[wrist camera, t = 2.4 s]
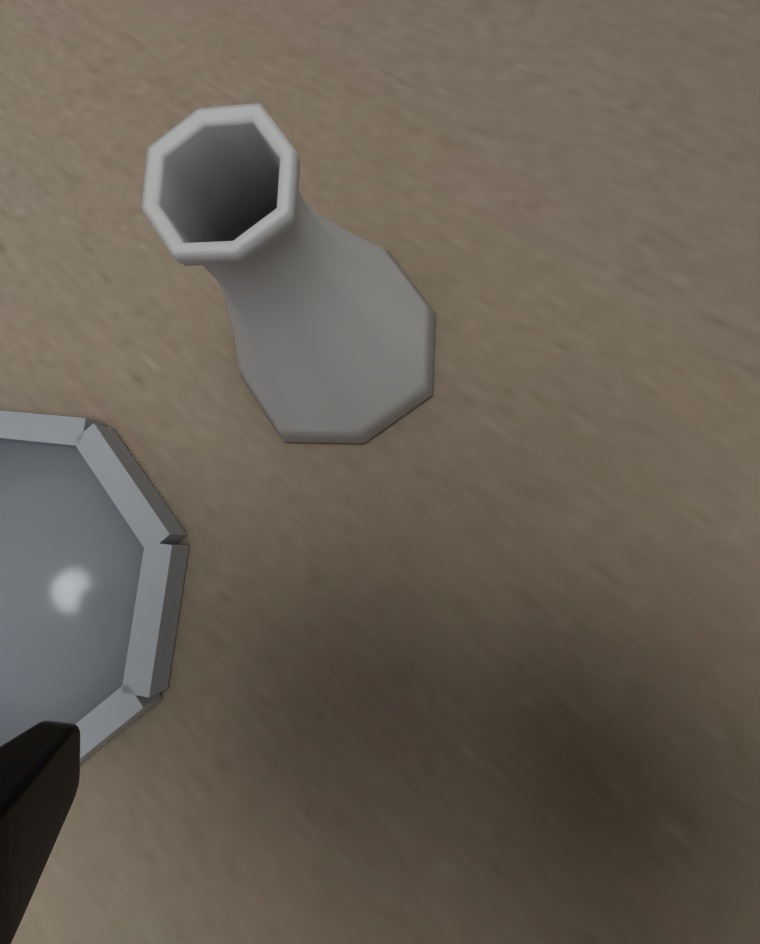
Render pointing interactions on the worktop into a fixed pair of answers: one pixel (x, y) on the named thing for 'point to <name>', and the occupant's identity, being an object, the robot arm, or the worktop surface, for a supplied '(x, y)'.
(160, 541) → the rimmed tray
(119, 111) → the worktop surface
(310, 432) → the flask
